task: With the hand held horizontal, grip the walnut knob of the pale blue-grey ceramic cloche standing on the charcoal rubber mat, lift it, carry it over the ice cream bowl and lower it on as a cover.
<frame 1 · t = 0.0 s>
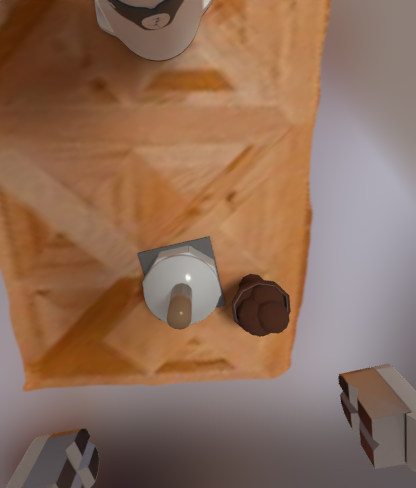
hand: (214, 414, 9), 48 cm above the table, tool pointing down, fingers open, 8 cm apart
mat: (183, 279, 60), on the table
ice cream bowl: (251, 285, 61), on the table
cloche: (183, 280, 59), resting on mat
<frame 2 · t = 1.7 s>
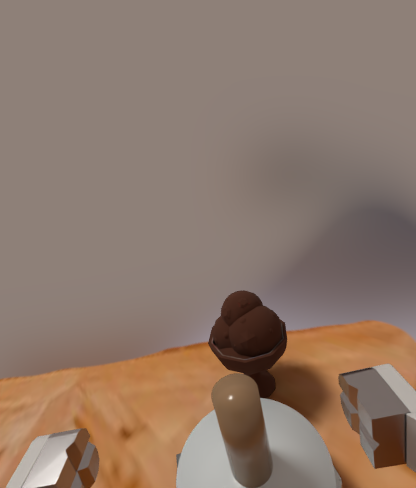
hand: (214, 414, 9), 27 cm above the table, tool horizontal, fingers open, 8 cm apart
ice cream bowl: (257, 385, 42), on the table
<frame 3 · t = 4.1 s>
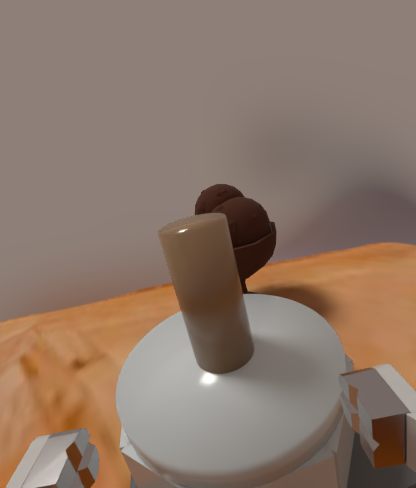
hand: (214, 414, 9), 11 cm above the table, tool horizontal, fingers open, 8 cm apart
mat: (241, 416, 21), on the table
ice cream bowl: (243, 308, 35), on the table
cloche: (240, 411, 20), resting on mat
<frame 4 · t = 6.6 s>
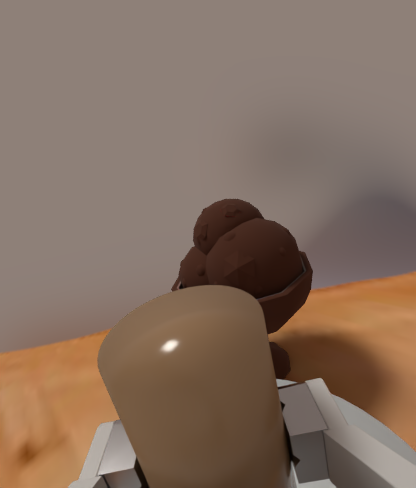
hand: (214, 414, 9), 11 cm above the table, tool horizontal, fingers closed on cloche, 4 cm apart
ice cream bowl: (259, 366, 25), on the table
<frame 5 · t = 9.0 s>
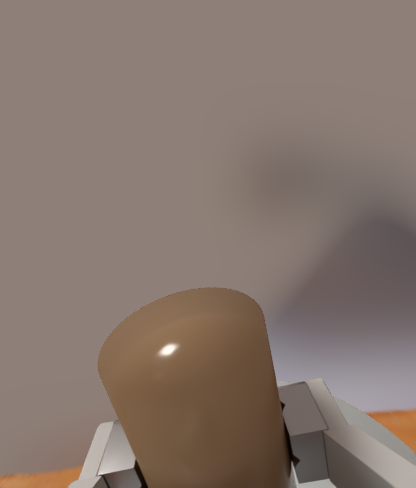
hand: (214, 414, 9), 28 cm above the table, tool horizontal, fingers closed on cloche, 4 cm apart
when the fingers open (22 cm above the table, at t = 11.4 s): cloche moves 1 cm, resting on ice cream bowl.
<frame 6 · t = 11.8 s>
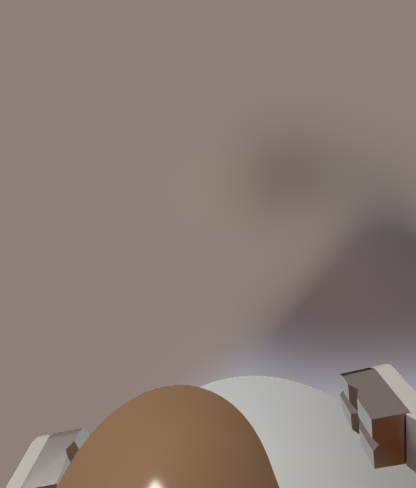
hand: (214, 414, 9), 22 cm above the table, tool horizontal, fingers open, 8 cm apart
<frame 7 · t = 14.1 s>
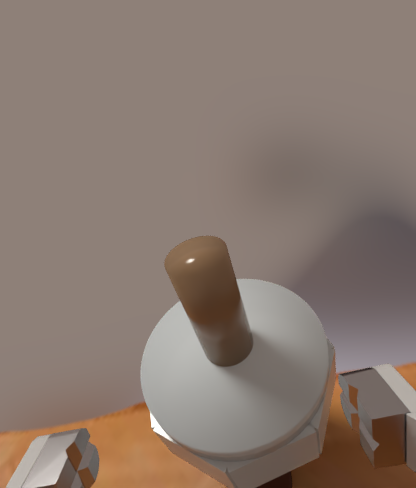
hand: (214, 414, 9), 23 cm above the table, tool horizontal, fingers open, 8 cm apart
ice cream bowl: (263, 477, 28), on the table, touching cloche
cloche: (241, 380, 25), point 11 cm above the table, tilted 16°, touching ice cream bowl
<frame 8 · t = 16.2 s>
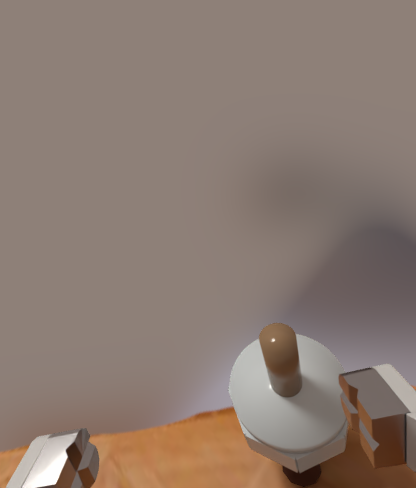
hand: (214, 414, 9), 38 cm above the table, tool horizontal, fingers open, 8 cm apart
ice cream bowl: (301, 466, 41), on the table, touching cloche
cloche: (290, 402, 39), point 11 cm above the table, tilted 16°, touching ice cream bowl
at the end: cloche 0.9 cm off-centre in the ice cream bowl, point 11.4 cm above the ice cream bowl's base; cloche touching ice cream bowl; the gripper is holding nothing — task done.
